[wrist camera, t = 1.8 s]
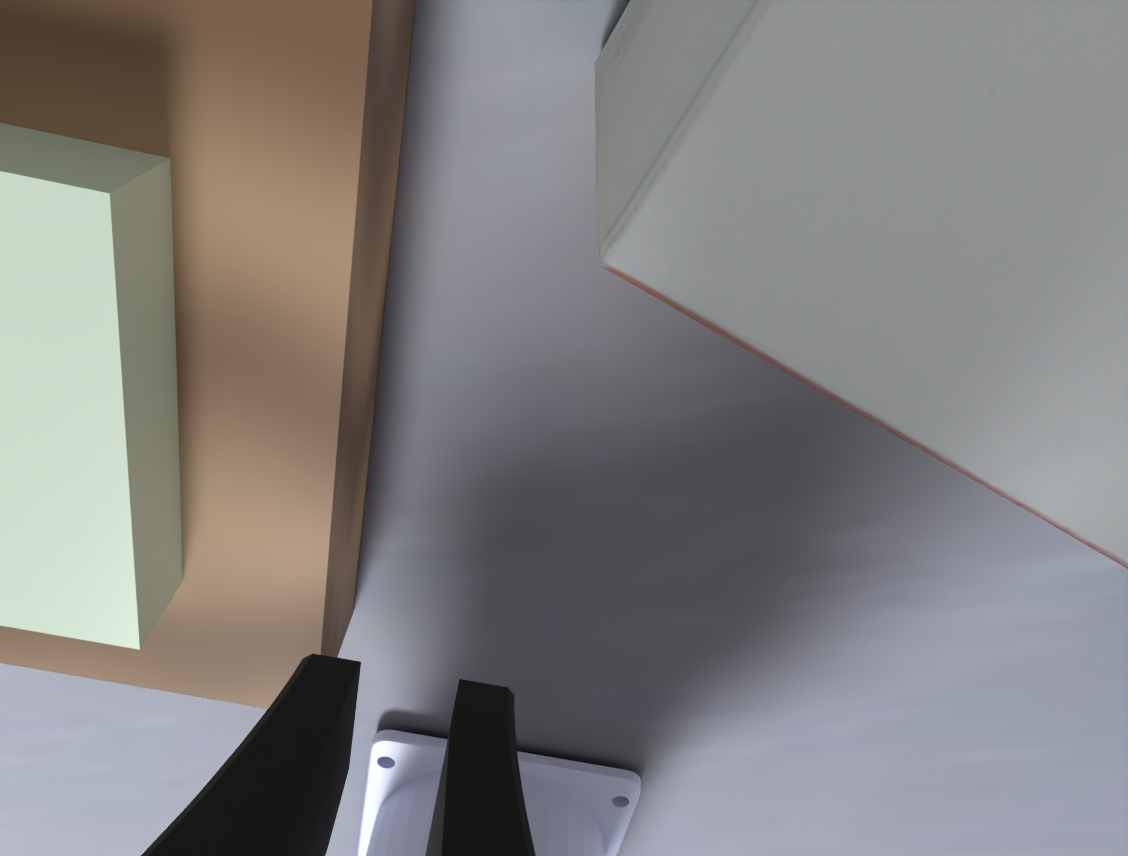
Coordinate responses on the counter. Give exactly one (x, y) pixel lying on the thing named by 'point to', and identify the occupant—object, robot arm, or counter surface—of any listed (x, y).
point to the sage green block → (87, 389)
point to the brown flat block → (243, 300)
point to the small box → (896, 218)
